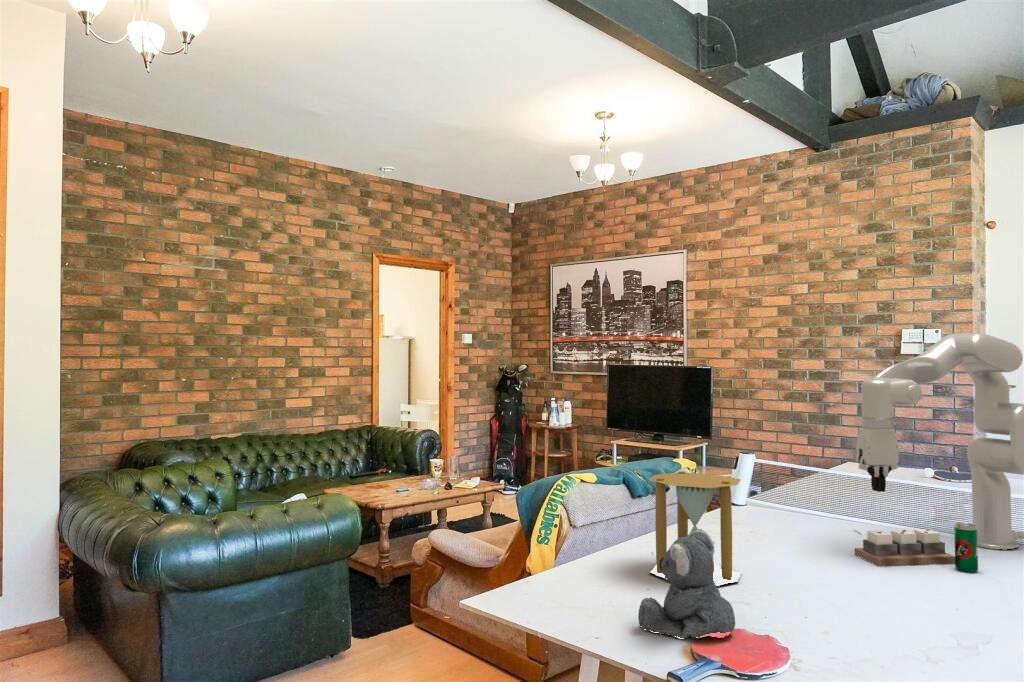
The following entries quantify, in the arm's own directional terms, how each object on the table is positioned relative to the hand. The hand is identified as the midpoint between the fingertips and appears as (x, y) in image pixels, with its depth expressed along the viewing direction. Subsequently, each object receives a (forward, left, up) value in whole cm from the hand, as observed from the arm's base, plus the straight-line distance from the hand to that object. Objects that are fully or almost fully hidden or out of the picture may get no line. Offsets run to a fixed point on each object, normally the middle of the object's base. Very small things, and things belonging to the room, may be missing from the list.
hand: (878, 490), depth 192 cm
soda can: (-17, +11, -19) cm, 28 cm away
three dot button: (-7, 0, -15) cm, 17 cm away
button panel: (-7, 0, -19) cm, 20 cm away
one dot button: (0, 0, -15) cm, 15 cm away
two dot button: (-14, 0, -15) cm, 21 cm away
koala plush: (+69, +41, -19) cm, 83 cm away
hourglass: (+55, +6, -19) cm, 59 cm away
